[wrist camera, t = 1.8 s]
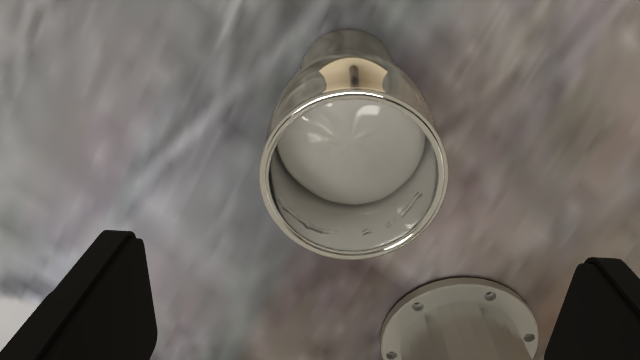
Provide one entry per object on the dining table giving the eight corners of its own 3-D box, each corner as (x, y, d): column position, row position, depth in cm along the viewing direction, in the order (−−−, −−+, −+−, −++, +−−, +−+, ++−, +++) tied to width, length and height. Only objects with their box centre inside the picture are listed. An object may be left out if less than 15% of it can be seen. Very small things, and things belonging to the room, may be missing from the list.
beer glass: (361, -4, 27) (383, 37, 14) (422, 90, 30) (492, 204, 16) (270, 65, 29) (210, 161, 16) (334, 148, 32) (329, 293, 18)
